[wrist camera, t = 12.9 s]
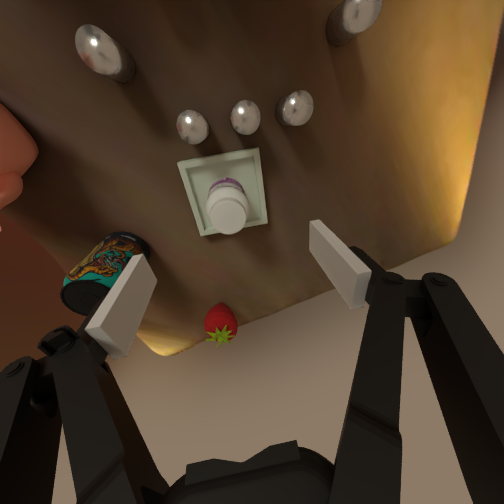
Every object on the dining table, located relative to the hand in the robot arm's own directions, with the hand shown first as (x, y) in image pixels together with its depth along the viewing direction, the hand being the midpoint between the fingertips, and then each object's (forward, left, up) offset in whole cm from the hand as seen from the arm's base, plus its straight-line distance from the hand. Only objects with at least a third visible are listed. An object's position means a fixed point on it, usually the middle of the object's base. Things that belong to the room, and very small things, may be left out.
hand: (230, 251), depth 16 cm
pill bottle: (0, 0, -17) cm, 17 cm away
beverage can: (-18, -6, -18) cm, 26 cm away
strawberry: (-6, -23, -18) cm, 30 cm away
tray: (0, 0, -18) cm, 18 cm away
